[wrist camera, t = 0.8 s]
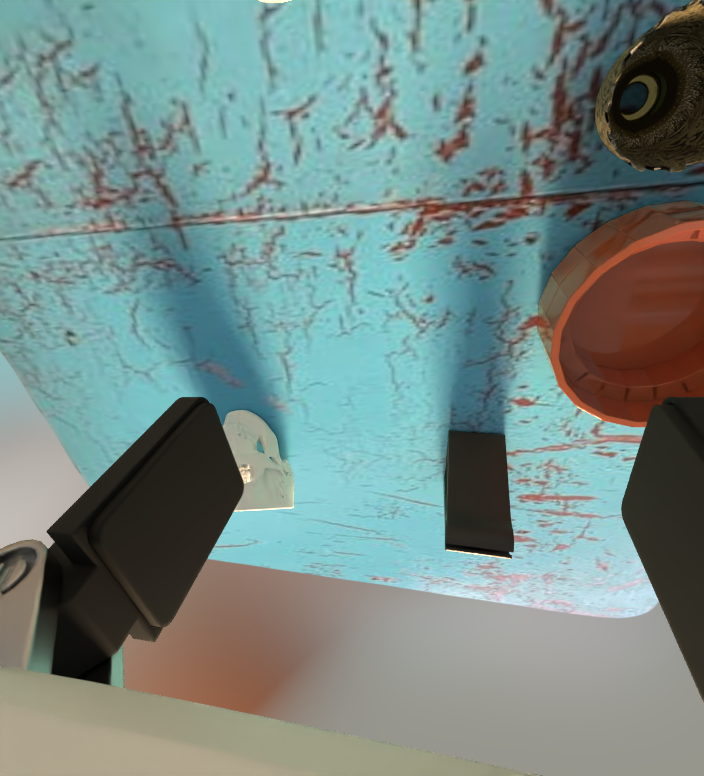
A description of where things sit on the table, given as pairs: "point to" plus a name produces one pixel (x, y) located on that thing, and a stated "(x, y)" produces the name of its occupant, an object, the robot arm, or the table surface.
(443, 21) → the table surface
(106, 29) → the table surface
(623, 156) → the cup
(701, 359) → the bowl
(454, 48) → the table surface
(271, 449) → the skull bowl
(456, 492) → the door stopper
